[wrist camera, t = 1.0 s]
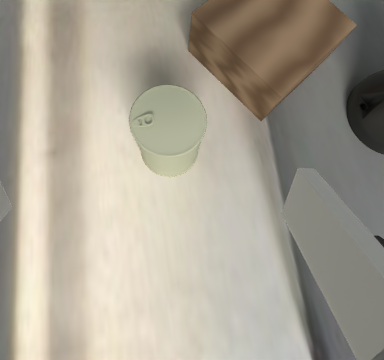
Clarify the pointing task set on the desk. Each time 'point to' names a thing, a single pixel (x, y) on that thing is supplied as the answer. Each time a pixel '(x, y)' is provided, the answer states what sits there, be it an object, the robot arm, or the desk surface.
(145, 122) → the can
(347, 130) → the desk surface
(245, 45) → the walnut block
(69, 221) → the desk surface
